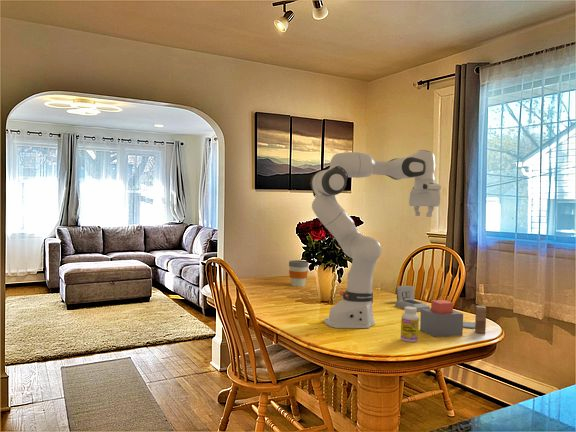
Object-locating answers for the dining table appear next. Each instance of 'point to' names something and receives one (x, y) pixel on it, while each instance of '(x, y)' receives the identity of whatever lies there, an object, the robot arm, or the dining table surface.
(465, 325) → the pad
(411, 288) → the electrical switch
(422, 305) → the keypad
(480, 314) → the brown wooden block
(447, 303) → the button
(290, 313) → the dining table surface
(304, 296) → the dining table surface
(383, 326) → the dining table surface
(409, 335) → the supplement bottle
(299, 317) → the dining table surface
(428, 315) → the gray socket block
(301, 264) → the reusable coffee cup
